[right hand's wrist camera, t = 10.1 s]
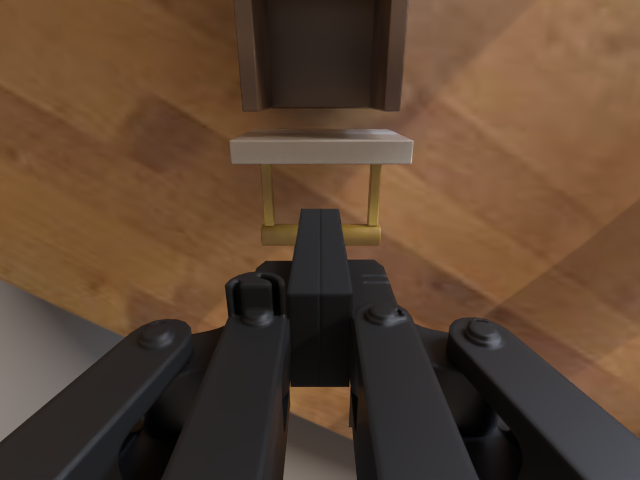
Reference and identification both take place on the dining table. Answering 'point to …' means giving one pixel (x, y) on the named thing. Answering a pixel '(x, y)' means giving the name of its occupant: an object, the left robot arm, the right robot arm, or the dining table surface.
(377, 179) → the drawer
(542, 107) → the dining table surface
